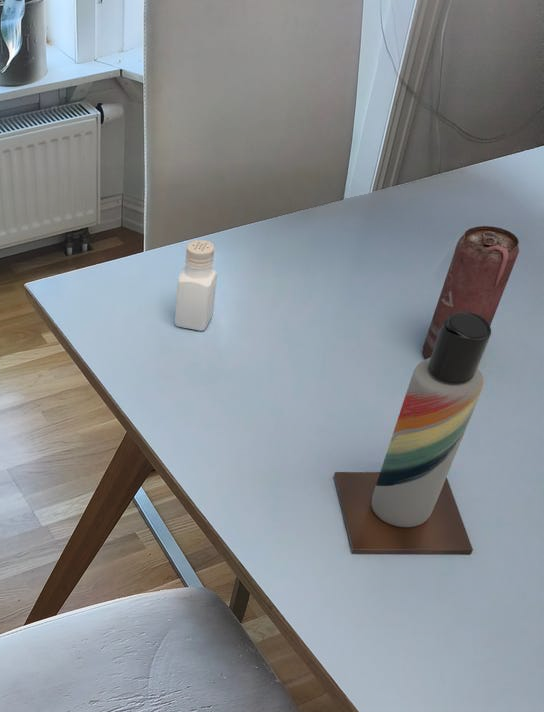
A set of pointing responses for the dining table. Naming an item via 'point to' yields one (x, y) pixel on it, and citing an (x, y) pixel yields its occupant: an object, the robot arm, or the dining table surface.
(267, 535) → the dining table surface
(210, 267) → the salt shaker
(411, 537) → the walnut board
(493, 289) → the can
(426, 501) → the lotion bottle
